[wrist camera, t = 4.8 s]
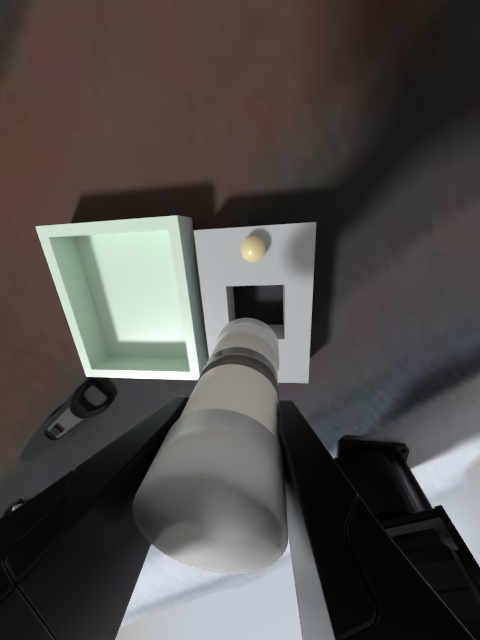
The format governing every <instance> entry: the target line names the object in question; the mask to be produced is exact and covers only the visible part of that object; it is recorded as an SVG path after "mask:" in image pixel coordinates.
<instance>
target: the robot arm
mask: <svg viewBox="0 0 480 640" xmlns="http://www.w3.org/2000/svg"><path fill="white" fill-rule="evenodd" d="M188 400H189V397H188V396H176V397H175V398H173V399H172V400H171V401H169V402H168V403H166V404H165V405H164V406H162V407H161V408H159V409H158V410H156V411H155V412H154V413H152V414H151V415H149V416H148V417H147V418H145V419H144V420H142V421H141V422H140V423H138V424H137V425H135V426H134V427H133V428H131V429H130V430H128V431H127V432H126V433H124V434H123V435H121V436H120V437H118V438H117V439H116V440H114V441H113V442H111V443H110V444H109V445H107V446H106V447H104V448H103V449H102V450H100V451H99V452H97V453H96V454H95V455H93V456H92V457H90V458H89V459H88V460H86V461H85V462H83V463H82V464H80V465H79V466H78V467H76V469H75V470H72V471H70V472H69V473H68V474H66V475H65V476H63V477H62V478H61V479H59V480H58V481H56V482H55V483H53V484H52V485H51V486H49V487H48V488H46V489H45V490H43V491H42V492H40V493H39V494H37V495H36V496H35V497H33V498H32V499H30V500H29V501H27V502H25V503H24V504H22V505H21V506H19V507H18V508H16V509H15V510H13V511H12V512H10V513H9V514H7V515H5V516H4V517H2V518H1V519H0V640H115V638H116V636H117V633H118V630H119V628H120V625H121V622H122V620H123V617H124V614H125V612H126V609H127V606H128V604H129V601H130V598H131V596H132V593H133V590H134V588H135V585H136V582H137V580H138V577H139V574H140V572H141V569H142V567H143V564H144V561H145V559H146V556H147V553H148V551H149V548H150V545H151V543H150V542H149V541H148V540H147V539H146V538H145V536H144V535H143V534H142V533H141V531H140V530H139V528H138V526H137V524H136V522H135V520H134V516H133V509H132V506H133V500H134V497H135V495H136V493H137V491H138V489H139V487H140V485H141V483H142V481H143V479H144V478H145V476H146V474H147V472H148V470H149V468H150V466H151V464H152V462H153V460H154V458H155V456H156V455H157V453H158V451H159V449H160V447H161V445H162V443H163V441H164V439H165V437H166V435H167V434H168V432H169V430H170V428H171V427H172V425H173V424H174V423H175V422H176V421H177V420H179V418H180V416H181V414H182V412H183V410H184V408H185V406H186V404H187V402H188ZM279 434H280V446H281V448H282V450H283V457H284V467H285V484H286V504H287V523H288V536H289V543H290V550H291V558H292V565H293V572H294V580H295V587H296V595H297V602H298V609H299V617H300V624H301V631H302V639H303V640H480V567H479V565H478V564H477V562H476V561H475V559H474V557H473V555H472V554H471V552H470V551H469V549H468V548H467V546H466V544H465V543H464V541H463V539H462V538H461V536H460V534H459V533H458V531H457V530H456V528H455V526H454V525H453V523H452V522H451V520H450V518H449V517H448V515H447V513H446V512H445V510H444V509H443V507H442V505H439V506H435V508H432V506H431V504H430V503H429V501H428V499H427V497H426V496H425V494H424V492H423V490H422V489H421V487H420V485H419V484H418V482H417V480H416V478H415V477H414V475H413V473H412V471H411V470H410V468H409V466H408V465H407V463H406V461H407V457H408V454H409V449H408V447H407V446H406V445H405V444H400V443H384V442H368V441H352V440H341V441H339V442H338V448H337V457H336V458H334V459H333V458H332V456H331V455H330V453H329V452H328V451H327V449H326V448H325V446H324V445H323V444H322V442H321V441H320V439H319V438H318V437H317V435H316V434H315V432H314V431H313V429H312V428H311V427H310V425H309V424H308V422H307V421H306V420H305V418H304V417H303V415H302V414H301V413H300V411H299V410H298V408H297V407H296V406H295V404H294V403H293V402H292V401H291V400H280V401H279Z"/></svg>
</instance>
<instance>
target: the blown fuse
mask: <svg viewBox="0 0 480 640" xmlns="http://www.w3.org/2000/svg"><path fill="white" fill-rule="evenodd" d="M278 370H279V346H278V340H277V337H276V335H275V333H274V332H273V330H272V329H271V328H270V327H269V326H268V325H267V324H265V323H263V322H262V321H259V320H257V319H253V318H240V319H236V320H233V321H231V322H230V323H228V324H227V325H226V326H225V327H224V328H223V329H222V331H221V332H220V334H219V336H218V338H217V340H216V342H215V344H214V345H213V348H212V350H211V353H210V358H209V360H208V362H207V363H206V365H205V367H204V369H203V371H202V373H201V375H200V377H199V379H198V381H197V383H196V386H195V388H194V390H193V392H192V394H191V396H190V398H189V400H188V402H187V404H186V406H185V408H184V410H183V412H182V414H181V416H180V418H179V420H177V421H176V422H175V423H174V424H173V425H172V427H171V428H170V430H169V432H168V434H167V435H166V437H165V439H164V441H163V443H162V445H161V447H160V449H159V451H158V453H157V455H156V456H155V458H154V460H153V462H152V464H151V466H150V468H149V470H148V472H147V474H146V476H145V478H144V479H143V481H142V483H141V485H140V487H139V489H138V491H137V493H136V495H135V497H134V500H133V506H132V509H133V516H134V520H135V522H136V524H137V526H138V528H139V530H140V531H141V533H142V534H143V535H144V536H145V538H146V539H147V540H148V541H149V542H150V543H151V544H153V545H154V546H155V547H156V548H157V549H159V550H160V551H162V552H163V553H164V554H166V555H168V556H169V557H171V558H173V559H175V560H177V561H179V562H181V563H184V564H186V565H188V566H191V567H194V568H198V569H201V570H205V571H210V572H216V573H225V574H240V573H249V572H254V571H258V570H261V569H263V568H266V567H268V566H270V565H272V564H273V563H275V562H276V561H277V560H278V559H279V558H280V557H281V556H282V555H283V553H284V552H285V550H286V547H287V544H288V523H287V504H286V484H285V467H284V457H283V450H282V448H281V446H280V434H279V388H278V375H277V373H278Z"/></svg>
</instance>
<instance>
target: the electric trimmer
mask: <svg viewBox="0 0 480 640" xmlns="http://www.w3.org/2000/svg"><path fill="white" fill-rule="evenodd" d="M113 398H114V396H113V394H112V393H111V392H110V391H109V390H107V389H106V388H105V387H104V386H103V385H102V384H101V383H100V382H99V381H97V380H94V379H93V380H89V381H87V382H85V383H84V384H82V385H81V386H80V387H79V388H78V389H77V390H76V391H75V392H74V394H73V395H72V396H71V398H70V399H69V400H68V401H67V402H66V403H65V404H64V405H63V406H62V407H61V408H60V409H59V410H58V411H57V412H56V413H55V414H52V415H50V416H49V417H48V418H47V419H46V420H45V422H44V423H43V424H42V425H41V426H40V428H39V429H38V430H37V431H36V432H35V434H34V435H33V436H32V437H31V439H30V440H29V441H28V443H27V444H26V446H25V448H24V450H23V451H22V453H21V455H20V459H21V461H23V462H28V461H31V460H33V459H35V458H37V457H39V456H41V455H43V454H45V453H46V452H48V451H50V450H51V449H53V448H54V447H56V446H57V445H59V444H61V443H62V442H64V441H65V440H67V439H68V438H70V437H71V436H72V435H74V433H75V431H76V430H77V429H79V428H80V427H81V426H83V425H84V424H86V423H87V422H88V421H90V420H91V419H92V418H94V417H95V416H97V415H99V414H100V413H102V412H103V411H105V410H106V409H107V408H108V407H109V406H110V404H111V403H112V401H113Z"/></svg>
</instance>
